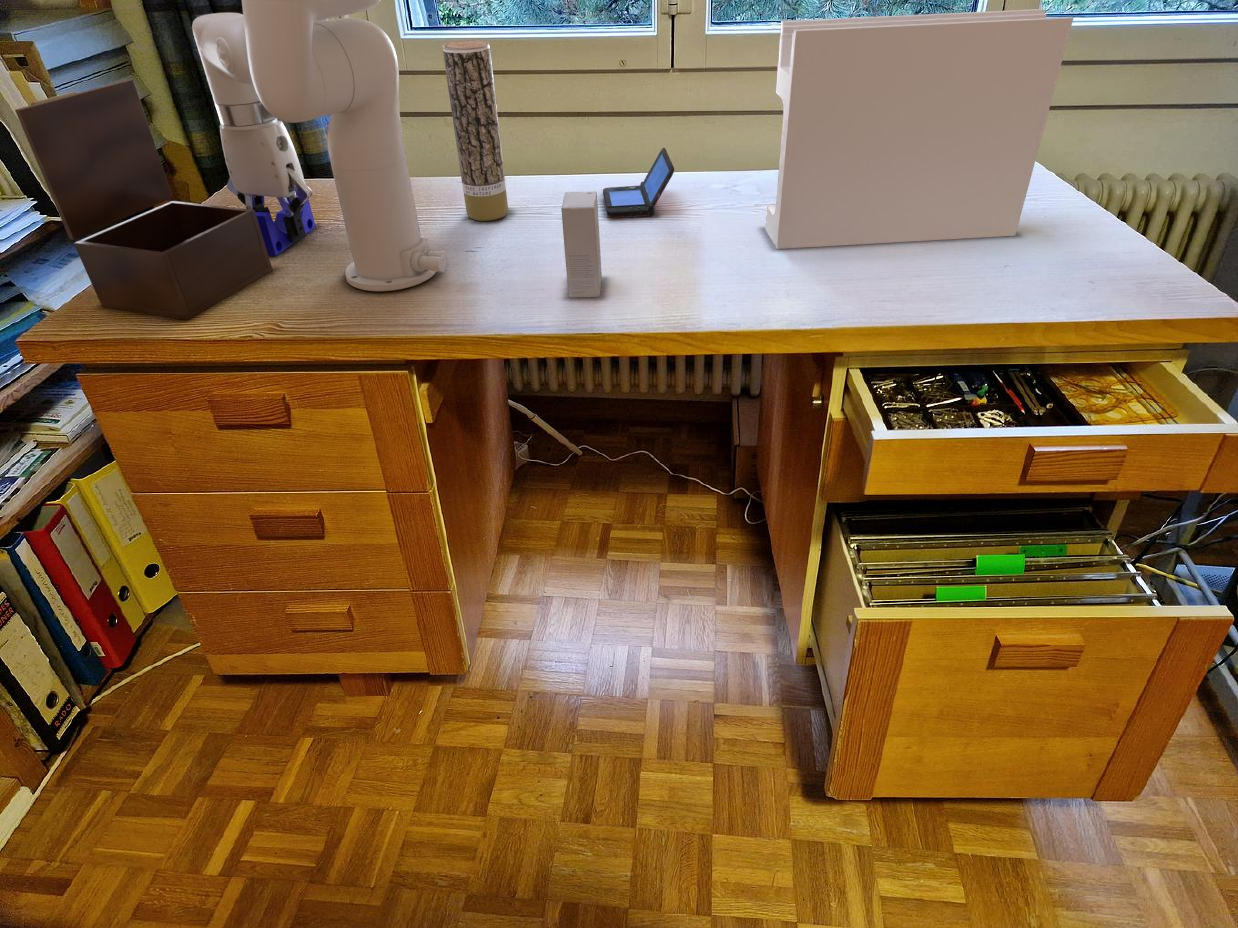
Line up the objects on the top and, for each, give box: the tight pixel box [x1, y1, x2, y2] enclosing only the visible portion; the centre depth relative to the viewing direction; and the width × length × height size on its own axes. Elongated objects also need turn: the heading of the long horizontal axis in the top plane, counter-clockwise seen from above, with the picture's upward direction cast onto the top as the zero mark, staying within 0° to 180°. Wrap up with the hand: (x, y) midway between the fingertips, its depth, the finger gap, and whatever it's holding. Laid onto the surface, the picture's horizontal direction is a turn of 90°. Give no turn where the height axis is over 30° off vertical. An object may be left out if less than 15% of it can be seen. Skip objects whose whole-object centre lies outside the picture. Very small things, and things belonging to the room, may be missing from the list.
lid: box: [14, 78, 173, 240], centre depth 105 cm, size 16×17×5 cm
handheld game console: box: [602, 147, 675, 219], centre depth 132 cm, size 12×11×7 cm
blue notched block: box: [255, 190, 317, 257], centre depth 124 cm, size 12×4×6 cm, turn 168°
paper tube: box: [441, 40, 509, 222], centre depth 125 cm, size 7×7×25 cm
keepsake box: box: [73, 200, 274, 321], centre depth 110 cm, size 15×17×9 cm
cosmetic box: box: [561, 190, 603, 299], centre depth 104 cm, size 6×4×12 cm
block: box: [764, 8, 1074, 250], centre depth 112 cm, size 35×8×28 cm, turn 94°
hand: (282, 236), depth 125 cm, fingers closed on blue notched block, 5 cm apart
